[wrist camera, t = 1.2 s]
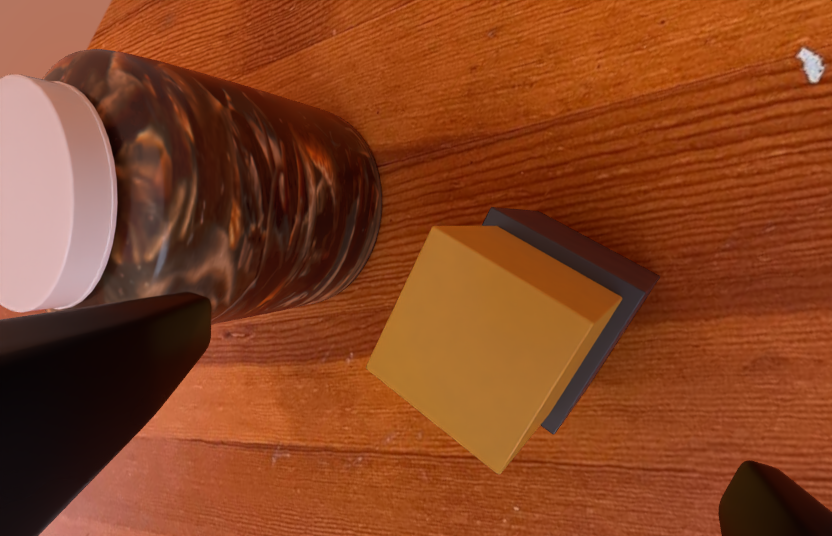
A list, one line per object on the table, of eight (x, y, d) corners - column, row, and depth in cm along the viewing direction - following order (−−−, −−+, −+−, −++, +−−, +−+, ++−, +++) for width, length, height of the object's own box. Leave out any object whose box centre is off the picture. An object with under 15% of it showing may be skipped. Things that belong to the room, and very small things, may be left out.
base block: (660, 276, 21) (646, 292, 16) (587, 388, 23) (553, 435, 18) (537, 210, 24) (490, 206, 18) (480, 316, 25) (422, 340, 20)
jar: (241, 109, 33) (-64, 32, 20) (392, 109, 27) (105, 1, 14) (232, 287, 34) (-55, 325, 21) (374, 322, 29) (101, 402, 16)
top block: (623, 297, 16) (594, 323, 12) (548, 415, 18) (498, 476, 14) (495, 224, 18) (431, 224, 14) (438, 337, 20) (363, 368, 16)
